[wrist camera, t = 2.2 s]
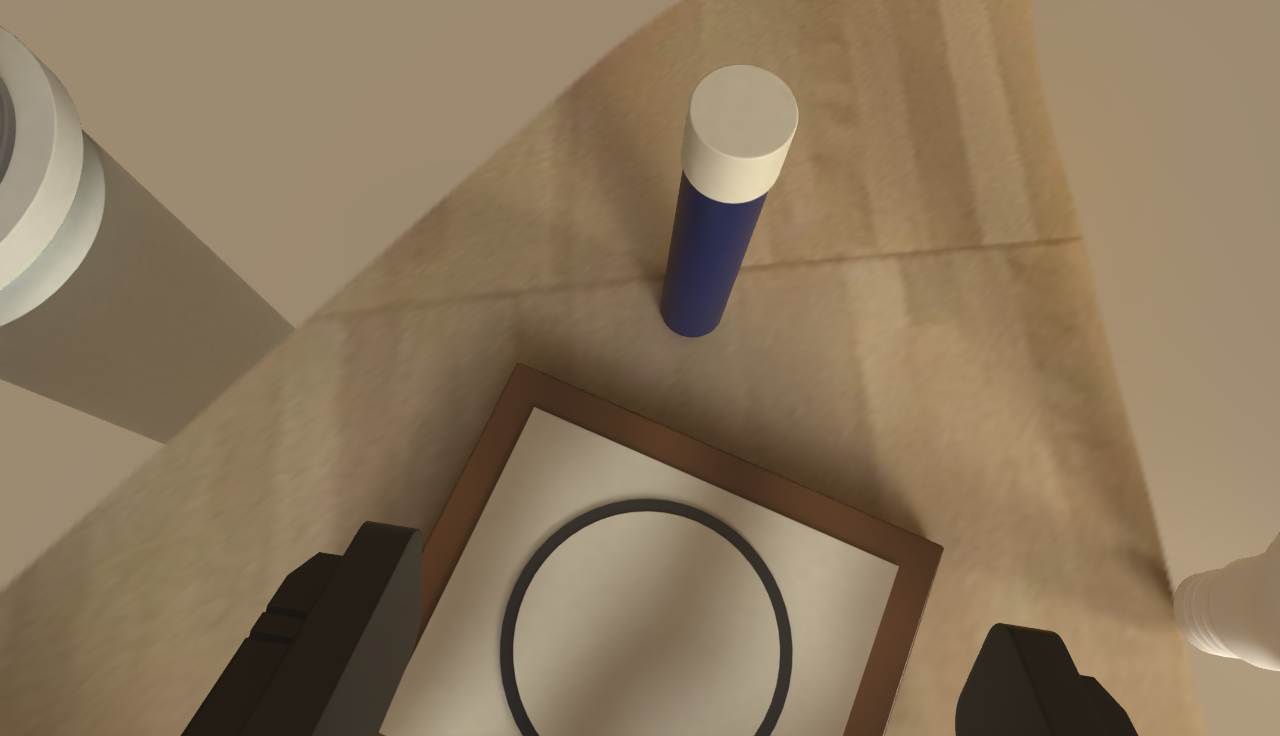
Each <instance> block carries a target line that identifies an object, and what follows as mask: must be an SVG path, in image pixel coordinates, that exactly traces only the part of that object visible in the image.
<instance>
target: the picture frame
mask: <svg viewBox="0 0 1280 736" xmlns="http://www.w3.org/2000/svg"><path fill="white" fill-rule="evenodd" d="M943 550H944V547H943V546H941V545H939V544H937V543H934V542H932V541H930V540H927V539H925V538H923V537H921V536H918V535H916V534H914V533H911V532H909V531H907V530H904V529H902V528H900V527H897V526H895V525H893V524H891V523H888V522H886V521H884V520H881V519H879V518H877V517H874V516H872V515H870V514H867V513H865V512H863V511H861V510H858V509H856V508H854V507H851V506H849V505H847V504H844V503H842V502H840V501H837V500H835V499H833V498H831V497H828V496H826V495H824V494H821V493H819V492H817V491H814V490H812V489H810V488H807V487H805V486H803V485H801V484H798V483H796V482H794V481H791V480H789V479H787V478H784V477H782V476H780V475H777V474H775V473H773V472H771V471H768V470H766V469H764V468H761V467H759V466H757V465H754V464H752V463H750V462H747V461H745V460H743V459H741V458H738V457H736V456H734V455H731V454H729V453H727V452H724V451H722V450H720V449H717V448H715V447H713V446H711V445H708V444H706V443H704V442H701V441H699V440H697V439H694V438H692V437H690V436H687V435H685V434H683V433H681V432H678V431H676V430H674V429H671V428H669V427H667V426H664V425H662V424H660V423H657V422H655V421H653V420H651V419H648V418H646V417H644V416H641V415H639V414H637V413H634V412H632V411H630V410H627V409H625V408H623V407H621V406H618V405H616V404H614V403H611V402H609V401H607V400H604V399H602V398H600V397H597V396H595V395H593V394H591V393H588V392H586V391H584V390H581V389H579V388H577V387H574V386H572V385H570V384H567V383H565V382H563V381H561V380H558V379H556V378H554V377H551V376H549V375H547V374H544V373H542V372H540V371H537V370H535V369H533V368H531V367H528V366H526V365H524V364H521V363H517V364H516V366H515V368H514V370H513V372H512V374H511V376H510V378H509V380H508V382H507V384H506V386H505V388H504V390H503V392H502V394H501V396H500V398H499V400H498V402H497V404H496V406H495V408H494V410H493V412H492V414H491V416H490V418H489V420H488V422H487V424H486V426H485V428H484V430H483V432H482V434H481V436H480V438H479V440H478V442H477V444H476V446H475V448H474V449H473V451H472V453H471V455H470V457H469V459H468V461H467V463H466V465H465V467H464V469H463V471H462V473H461V475H460V477H459V479H458V481H457V483H456V485H455V487H454V489H453V491H452V493H451V495H450V497H449V499H448V501H447V503H446V505H445V507H444V509H443V511H442V513H441V515H440V517H439V519H438V521H437V523H436V525H435V527H434V529H433V531H432V533H431V535H430V537H429V539H428V540H427V542H426V544H425V546H424V548H423V550H422V601H421V618H420V625H419V630H418V635H417V638H416V642H415V646H414V649H413V652H412V654H411V657H410V660H409V662H408V664H407V667H406V669H405V671H404V674H403V676H402V679H401V681H400V683H399V686H398V688H397V690H396V693H395V695H394V698H393V700H392V702H391V705H390V707H389V709H388V712H387V714H386V717H385V719H384V721H383V724H382V726H381V728H380V731H379V733H378V736H884V735H885V732H886V728H887V725H888V722H889V719H890V716H891V713H892V710H893V707H894V703H895V700H896V697H897V694H898V691H899V688H900V685H901V682H902V678H903V675H904V672H905V669H906V666H907V663H908V660H909V656H910V653H911V650H912V647H913V644H914V641H915V638H916V635H917V631H918V628H919V625H920V622H921V619H922V616H923V613H924V610H925V606H926V603H927V600H928V597H929V594H930V591H931V588H932V584H933V581H934V578H935V575H936V572H937V569H938V566H939V563H940V559H941V556H942V553H943Z"/></svg>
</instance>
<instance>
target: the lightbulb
mask: <svg viewBox="0 0 1280 736" xmlns="http://www.w3.org/2000/svg"><path fill="white" fill-rule="evenodd" d="M1173 610H1174V616H1175V619H1176V622H1177V625H1178V627H1179V629H1180V630H1181V632H1182V634H1183V635H1184V636H1185V637H1186V639H1187V640H1188V641H1189V642H1190V643H1192V644H1193V645H1194V646H1195V647H1197V648H1198V649H1200V650H1202V651H1205V652H1207V653H1210V654H1215V655H1220V656H1224V657H1233V658H1241V659H1242V660H1244V661H1246V662H1248V663H1250V664H1252V665H1255V666H1257V667H1260V668H1265V669H1269V670H1276V671H1280V533H1279V534H1278V535H1277V537H1276V538H1275V539H1274V540H1273V542H1272V543H1271V544H1270V546H1269V547H1268V549H1267V550H1266V552H1265V553H1262V554H1260V555H1258V556H1254V557H1249V558H1244V559H1239V560H1236V561H1234V562H1231V563H1229V564H1228V565H1226V566H1225V567H1224V568H1222V569H1217V570H1211V571H1207V572H1204V573H1199V574H1194V575H1192V576H1190V577H1188V578H1186V579H1185V580H1184V581H1183V582H1182V583H1181V584H1180V585H1179V587H1178V589H1177V591H1176V593H1175V596H1174V600H1173Z"/></svg>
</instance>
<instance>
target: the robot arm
mask: <svg viewBox="0 0 1280 736" xmlns="http://www.w3.org/2000/svg"><path fill="white" fill-rule="evenodd" d="M15 135H16V119H15V112H14V106H13V103H12V99H11V96H10V94H9V91H8V89H7V87H6V85H5V83H4V82H3V80H2V78H1V77H0V184H1V182H2V180H3V178H4V176H5V174H6V171H7V169H8V166H9V163H10V160H11V157H12V154H13V149H14V144H15ZM421 601H422V534H421V531H420V530H419V529H415V528H409V527H402V526H396V525H390V524H383V523H377V522H371V521H366V522H365V523H363V525H362V526H361V527H360V529H359V530H358V532H357V534H356V535H355V537H354V539H353V540H352V542H351V544H350V545H349V547H348V549H347V550H346V552H345V554H344V555H343V556H340V555H334V554H327V553H321V552H319V553H318V554H316V555H315V556H313V557H312V558H311V559H309V560H308V561H307V562H305V563H304V564H303V565H301V566H300V567H298V568H297V569H296V570H294V571H293V572H292V573H290V574H289V575H287V577H286V578H285V580H284V581H283V583H282V584H281V586H280V587H279V589H278V590H277V592H276V593H275V595H274V596H273V598H272V599H271V601H270V602H269V604H268V605H267V609H266V612H263V613H262V614H261V616H260V617H259V619H258V620H257V622H256V623H255V625H254V626H253V628H252V629H251V631H250V636H249V638H245V640H244V641H243V643H242V644H241V646H240V647H239V649H238V650H237V652H236V653H235V655H234V656H233V658H232V659H231V661H230V662H229V664H228V665H227V667H226V668H225V670H224V671H223V673H222V674H221V676H220V677H219V679H218V680H217V682H216V683H215V685H214V687H213V688H212V690H211V691H210V693H209V694H208V696H207V697H206V699H205V700H204V702H203V703H202V705H201V706H200V708H199V709H198V711H197V712H196V714H195V715H194V717H193V718H192V720H191V721H190V723H189V724H188V726H187V727H186V729H185V730H184V732H183V733H182V734H181V736H378V733H379V731H380V728H381V726H382V724H383V721H384V719H385V717H386V714H387V712H388V709H389V707H390V705H391V702H392V700H393V698H394V695H395V693H396V690H397V688H398V686H399V683H400V681H401V679H402V676H403V674H404V671H405V669H406V667H407V664H408V662H409V660H410V657H411V654H412V652H413V649H414V646H415V642H416V638H417V635H418V630H419V625H420V618H421ZM955 731H956V736H1138V734H1137V732H1136V730H1135V728H1134V726H1133V724H1132V722H1131V721H1130V719H1129V717H1128V715H1127V713H1126V711H1125V710H1124V709H1123V708H1122V707H1121V706H1120V705H1119V704H1118V703H1117V702H1116V701H1115V699H1114V698H1113V697H1112V696H1111V695H1110V694H1109V693H1108V692H1107V691H1106V690H1105V689H1104V688H1103V687H1102V686H1101V684H1100V683H1099V682H1098V681H1097V680H1096V679H1095V678H1094V677H1089V676H1082V675H1079V673H1078V671H1077V669H1076V667H1075V665H1074V663H1073V660H1072V658H1071V656H1070V654H1069V652H1068V650H1067V648H1066V646H1065V644H1064V642H1063V640H1062V639H1061V637H1060V636H1059V635H1058V634H1056V633H1055V632H1052V631H1047V630H1041V629H1034V628H1028V627H1022V626H1015V625H1009V624H1003V623H997V624H995V625H994V626H993V627H992V628H991V629H990V631H989V633H988V635H987V637H986V639H985V641H984V643H983V646H982V648H981V650H980V652H979V655H978V657H977V659H976V661H975V663H974V666H973V668H972V670H971V672H970V674H969V677H968V679H967V681H966V683H965V685H964V688H963V690H962V692H961V694H960V697H959V700H958V703H957V708H956V716H955Z"/></svg>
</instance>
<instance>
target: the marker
mask: <svg viewBox="0 0 1280 736" xmlns="http://www.w3.org/2000/svg"><path fill="white" fill-rule="evenodd" d="M797 124H798V107H797V103H796V100H795V98H794V95H793V94H792V92H791V90H790V89H789V87H788V86H787V85H786V84H785V83H784V82H783V81H782V80H781V79H780V78H779V77H777V76H776V75H775V74H773V73H771V72H770V71H767V70H765V69H763V68H760V67H757V66H752V65H744V64H736V65H729V66H725V67H721V68H719V69H716V70H714V71H712V72H710V73H709V74H708V75H706V76H705V77H704V78H703V79H702V80H701V81H700V82H699V83H698V84H697V85H696V87H695V88H694V90H693V92H692V94H691V97H690V101H689V106H688V112H687V119H686V125H685V132H684V138H683V145H682V152H681V162H682V166H683V171H682V177H681V183H680V189H679V195H678V201H677V207H676V214H675V220H674V226H673V232H672V238H671V244H670V250H669V256H668V262H667V268H666V275H665V281H664V287H663V293H662V299H661V314H662V317H663V319H664V321H665V323H666V324H667V326H668V327H669V328H670V329H671V330H673V331H674V332H676V333H678V334H680V335H682V336H686V337H699V336H703V335H705V334H708V333H709V332H711V331H712V330H713V329H714V328H715V327H716V326H717V325H718V323H719V322H720V320H721V317H722V314H723V312H724V309H725V306H726V304H727V301H728V298H729V296H730V293H731V290H732V287H733V285H734V282H735V279H736V277H737V274H738V271H739V269H740V266H741V263H742V260H743V258H744V255H745V252H746V250H747V247H748V244H749V242H750V239H751V236H752V234H753V231H754V228H755V225H756V223H757V220H758V217H759V215H760V212H761V209H762V207H763V204H764V201H765V198H766V196H767V193H768V190H769V189H770V188H771V187H772V186H773V184H774V183H775V182H776V180H777V178H778V176H779V173H780V170H781V168H782V165H783V162H784V160H785V157H786V155H787V152H788V149H789V147H790V144H791V142H792V139H793V136H794V134H795V131H796V128H797Z"/></svg>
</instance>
